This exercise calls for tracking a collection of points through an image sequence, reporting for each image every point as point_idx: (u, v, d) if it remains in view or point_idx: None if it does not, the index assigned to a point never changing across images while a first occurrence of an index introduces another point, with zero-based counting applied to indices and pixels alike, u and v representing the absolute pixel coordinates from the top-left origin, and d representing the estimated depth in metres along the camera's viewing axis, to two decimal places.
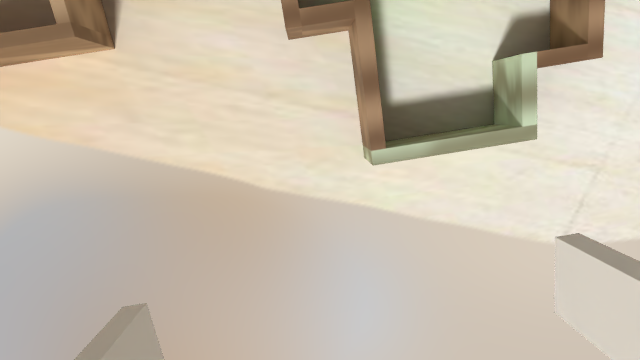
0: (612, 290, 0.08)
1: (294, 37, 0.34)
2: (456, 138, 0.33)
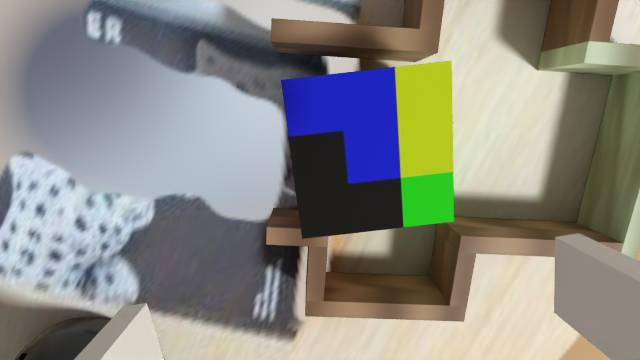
0: (612, 290, 0.08)
1: None
2: None
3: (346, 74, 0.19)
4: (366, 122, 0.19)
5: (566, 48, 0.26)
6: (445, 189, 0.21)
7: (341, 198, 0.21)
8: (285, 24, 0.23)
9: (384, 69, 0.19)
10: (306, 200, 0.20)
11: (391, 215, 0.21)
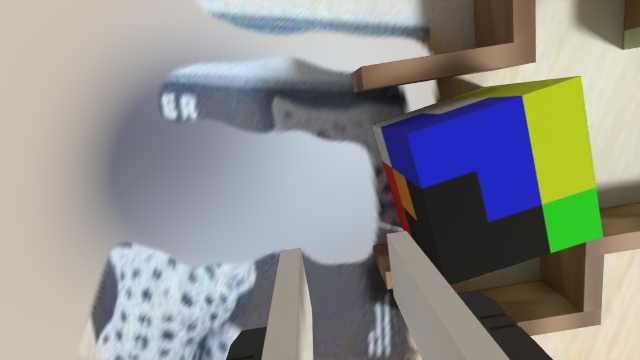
0: (403, 275, 0.10)
1: None
2: None
3: (473, 114, 0.18)
4: (499, 156, 0.19)
5: None
6: (590, 205, 0.19)
7: (483, 237, 0.20)
8: (375, 69, 0.22)
9: (511, 100, 0.18)
10: (447, 247, 0.20)
11: (536, 243, 0.20)
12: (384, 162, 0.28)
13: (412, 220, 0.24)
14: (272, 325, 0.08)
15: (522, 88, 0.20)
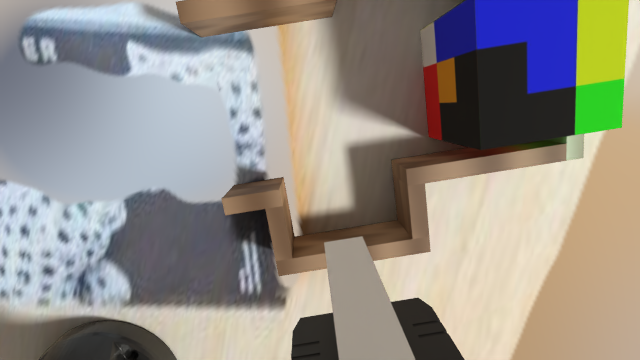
0: None
1: None
2: None
3: None
4: (549, 32, 0.21)
5: None
6: (616, 95, 0.22)
7: (520, 108, 0.22)
8: (189, 4, 0.24)
9: None
10: (487, 111, 0.22)
11: (564, 123, 0.22)
12: (426, 66, 0.30)
13: (449, 109, 0.27)
14: (338, 311, 0.08)
15: None
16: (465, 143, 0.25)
